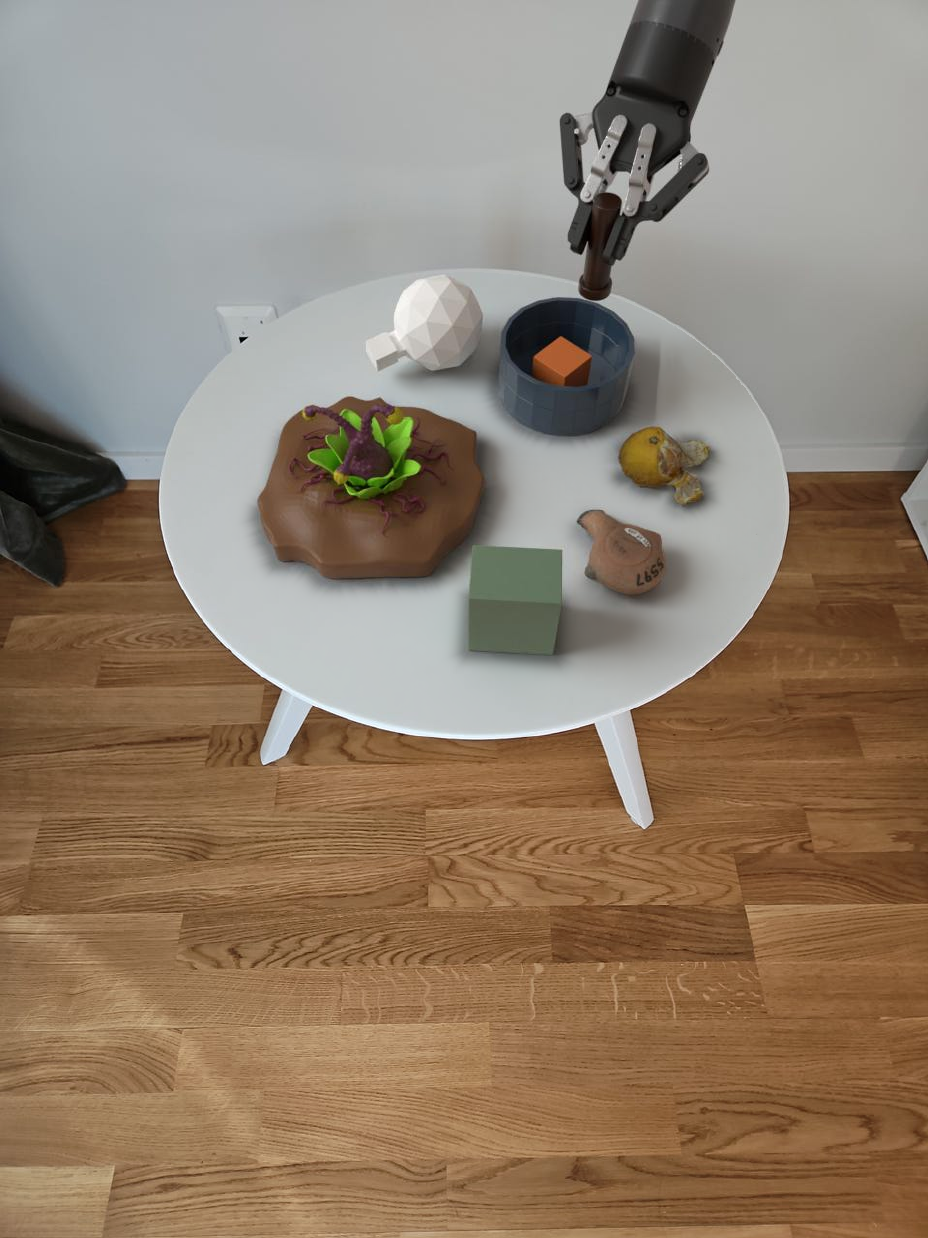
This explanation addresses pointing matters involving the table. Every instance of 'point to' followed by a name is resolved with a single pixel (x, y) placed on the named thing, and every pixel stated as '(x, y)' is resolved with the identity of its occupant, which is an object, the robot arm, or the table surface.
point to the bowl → (563, 404)
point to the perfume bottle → (431, 326)
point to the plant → (371, 489)
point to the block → (562, 364)
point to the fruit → (663, 462)
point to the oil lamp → (622, 554)
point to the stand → (514, 599)
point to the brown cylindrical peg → (599, 247)
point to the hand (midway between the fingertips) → (592, 256)
